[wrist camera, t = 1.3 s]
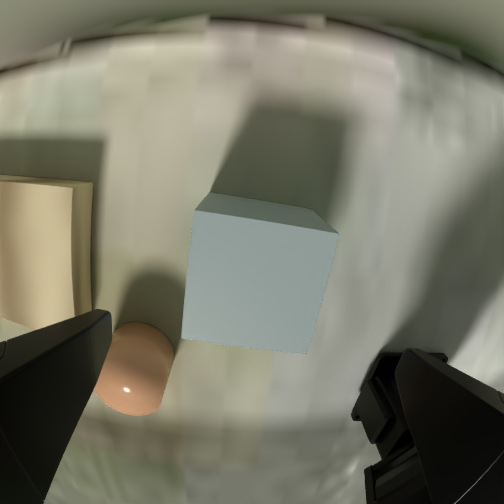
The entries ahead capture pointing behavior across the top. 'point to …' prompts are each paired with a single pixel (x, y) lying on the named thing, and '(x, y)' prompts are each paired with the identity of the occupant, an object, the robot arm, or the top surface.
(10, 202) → the beech slab
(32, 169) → the top surface
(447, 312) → the top surface
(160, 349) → the orange-tan rounded lump
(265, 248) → the blue-grey cube
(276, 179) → the top surface
